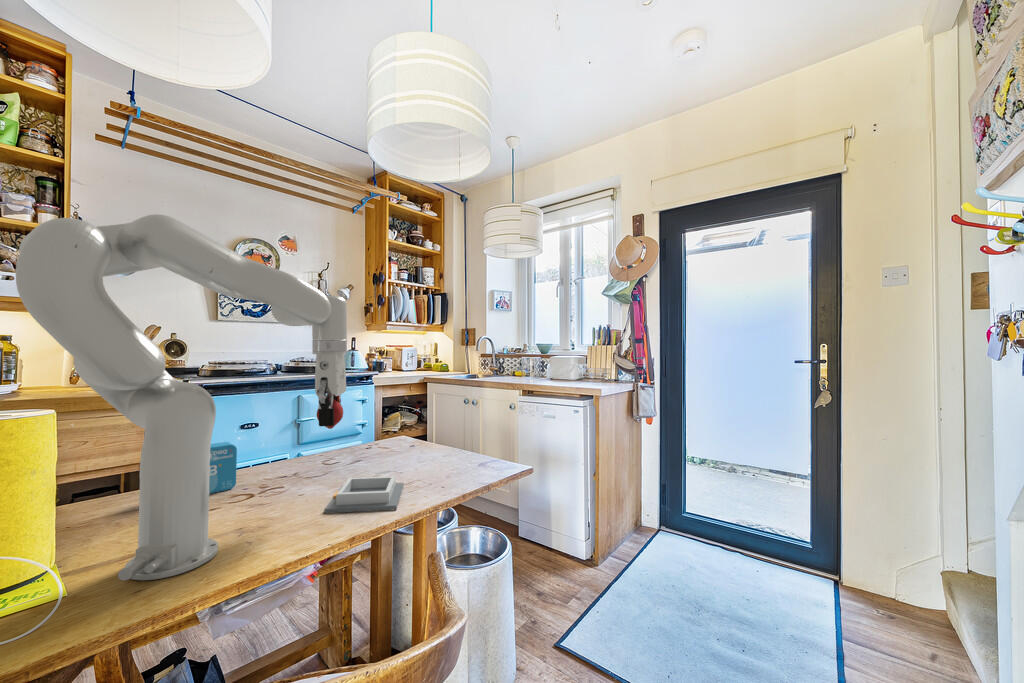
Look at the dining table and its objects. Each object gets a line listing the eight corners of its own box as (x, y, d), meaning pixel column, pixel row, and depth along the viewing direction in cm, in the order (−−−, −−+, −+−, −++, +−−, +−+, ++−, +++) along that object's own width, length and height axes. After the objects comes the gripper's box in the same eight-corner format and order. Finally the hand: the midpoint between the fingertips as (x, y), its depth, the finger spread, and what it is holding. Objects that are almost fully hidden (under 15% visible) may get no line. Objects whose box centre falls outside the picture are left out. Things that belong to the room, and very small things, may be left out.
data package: (178, 500, 98) (179, 451, 98) (175, 496, 101) (176, 448, 101) (236, 488, 107) (237, 443, 107) (231, 484, 110) (232, 440, 110)
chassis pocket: (396, 509, 94) (396, 494, 94) (324, 513, 92) (324, 498, 92) (403, 486, 110) (403, 473, 110) (342, 488, 108) (342, 475, 108)
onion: (336, 431, 93) (336, 397, 93) (312, 431, 93) (311, 397, 93) (347, 426, 99) (347, 393, 99) (324, 426, 99) (323, 393, 99)
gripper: (337, 348, 88) (337, 430, 88) (354, 346, 105) (354, 415, 105) (300, 348, 87) (301, 431, 87) (323, 347, 104) (323, 416, 104)
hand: (330, 422), depth 96 cm, fingers closed on onion, 5 cm apart
